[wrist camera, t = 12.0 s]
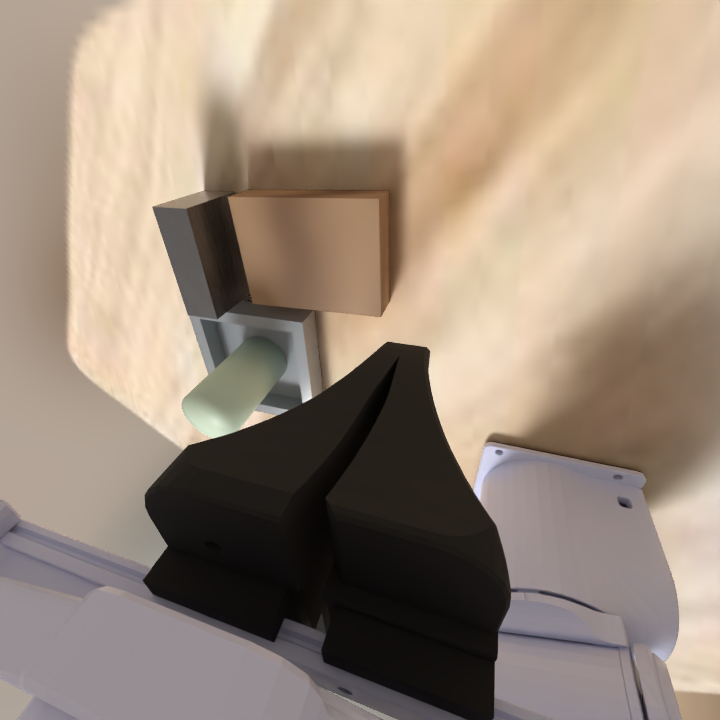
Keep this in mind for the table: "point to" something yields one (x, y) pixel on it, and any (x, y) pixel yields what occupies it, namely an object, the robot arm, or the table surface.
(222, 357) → the slate tray
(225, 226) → the post
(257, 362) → the sage dowel
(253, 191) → the tan rectangular block
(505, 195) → the table surface
